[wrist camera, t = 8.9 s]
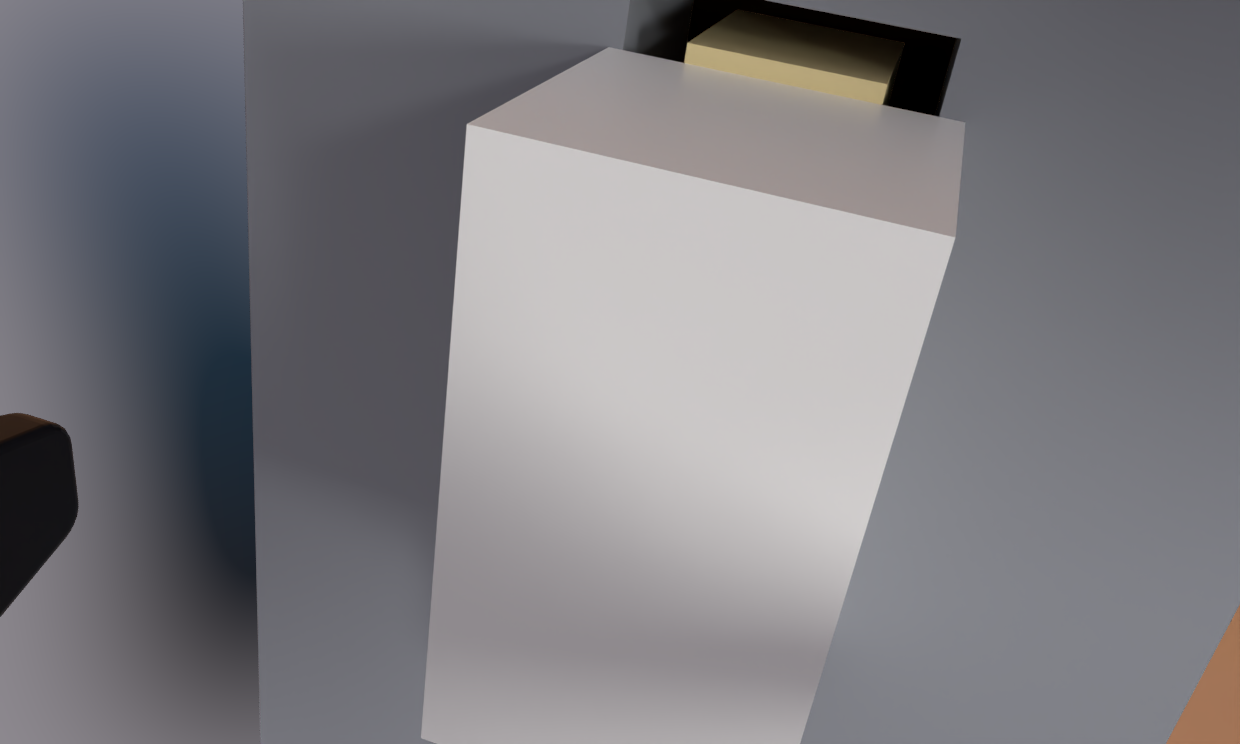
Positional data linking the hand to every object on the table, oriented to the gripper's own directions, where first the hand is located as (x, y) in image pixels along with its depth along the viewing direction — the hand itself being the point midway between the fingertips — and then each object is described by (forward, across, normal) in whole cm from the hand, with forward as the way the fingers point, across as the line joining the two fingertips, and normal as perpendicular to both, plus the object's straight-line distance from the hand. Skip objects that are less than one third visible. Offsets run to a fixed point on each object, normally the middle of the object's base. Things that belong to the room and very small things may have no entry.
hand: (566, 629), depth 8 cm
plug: (+7, 0, +1) cm, 7 cm away
